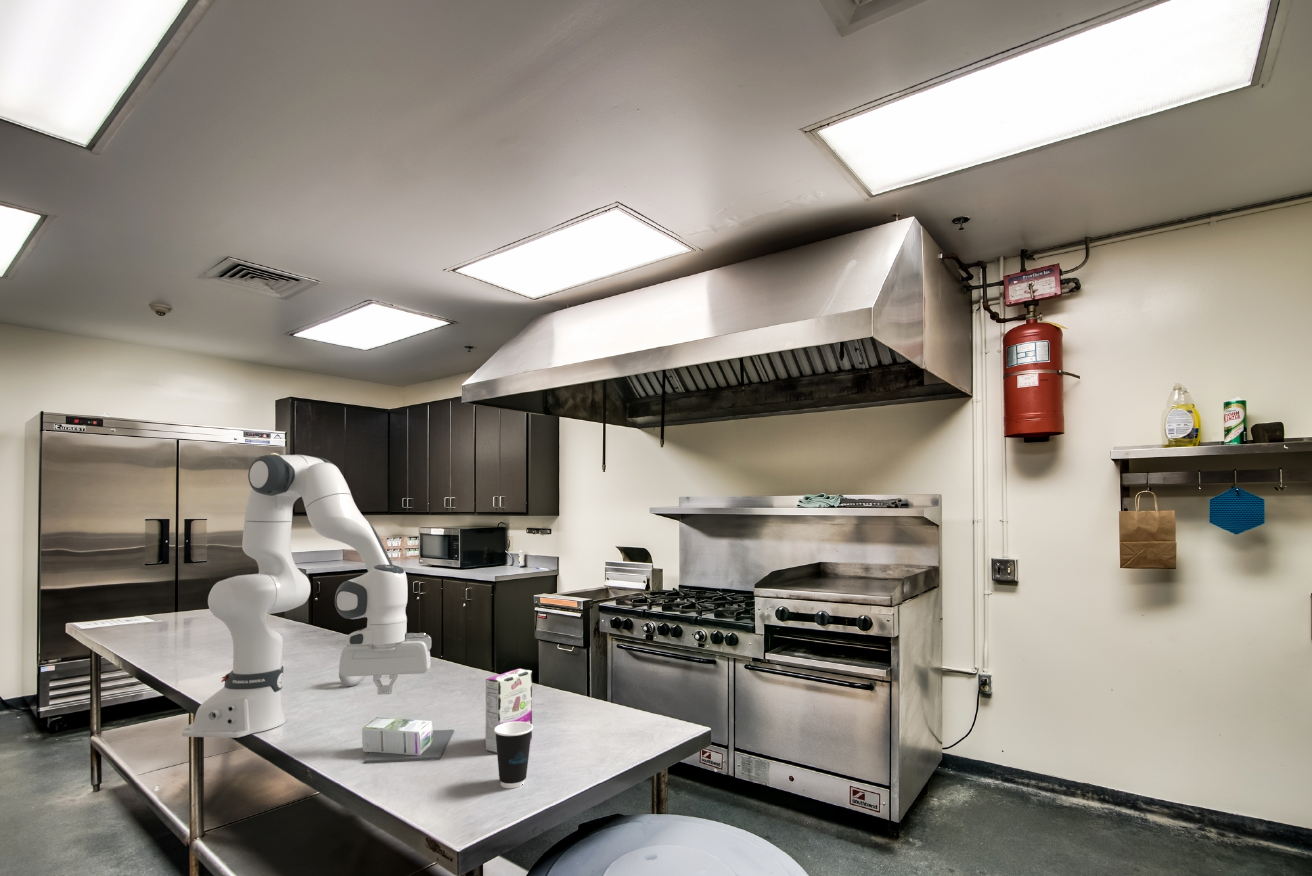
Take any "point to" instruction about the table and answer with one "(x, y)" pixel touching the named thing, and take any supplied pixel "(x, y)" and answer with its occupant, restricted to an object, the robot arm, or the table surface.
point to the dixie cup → (513, 752)
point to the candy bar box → (507, 702)
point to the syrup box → (397, 736)
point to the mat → (430, 753)
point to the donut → (351, 680)
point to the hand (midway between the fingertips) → (384, 693)
